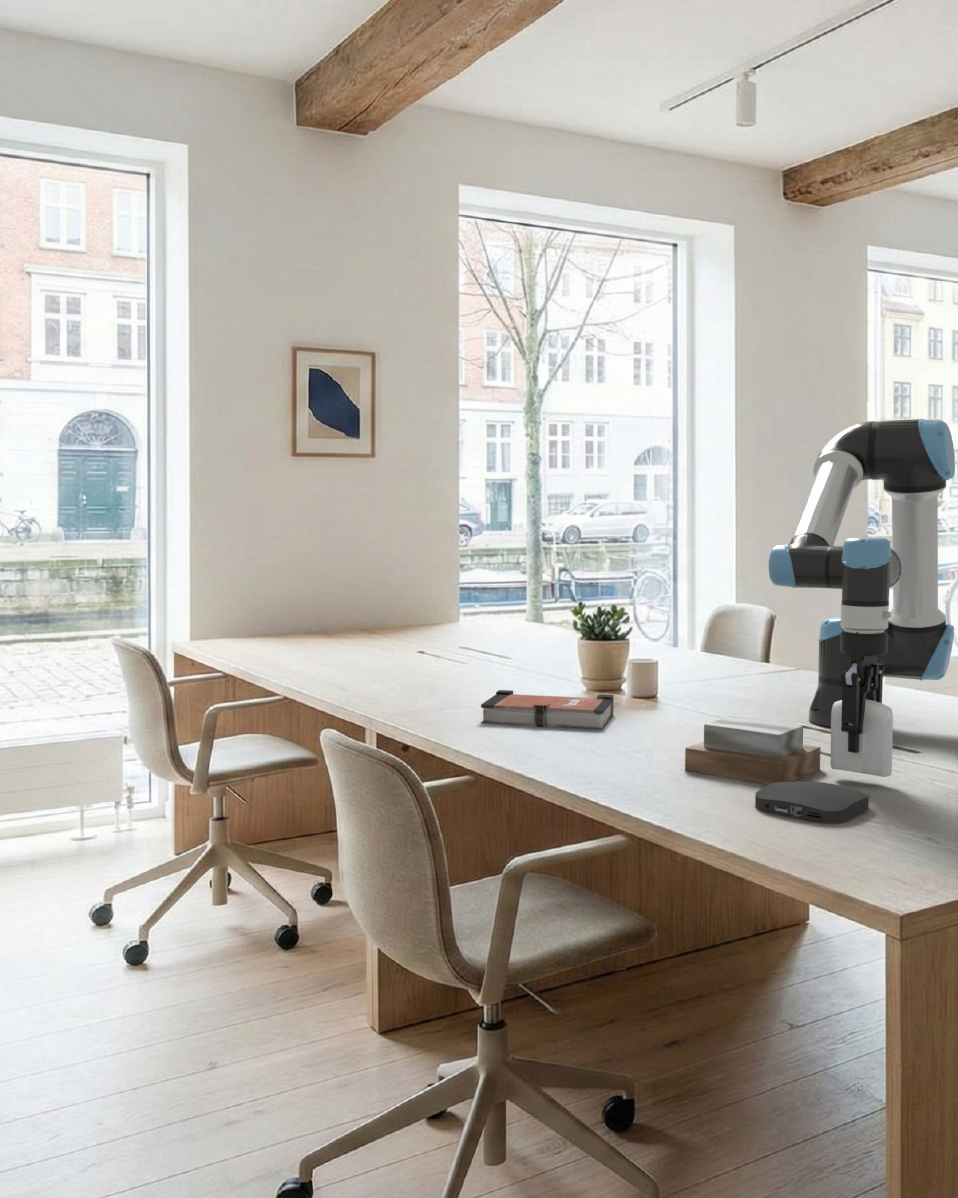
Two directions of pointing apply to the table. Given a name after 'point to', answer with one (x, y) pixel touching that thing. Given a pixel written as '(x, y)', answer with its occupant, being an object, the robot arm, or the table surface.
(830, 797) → the media streaming box
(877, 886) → the table surface
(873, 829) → the table surface
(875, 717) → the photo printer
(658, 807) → the table surface
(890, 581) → the robot arm
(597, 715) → the book
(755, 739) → the grey block on wood
